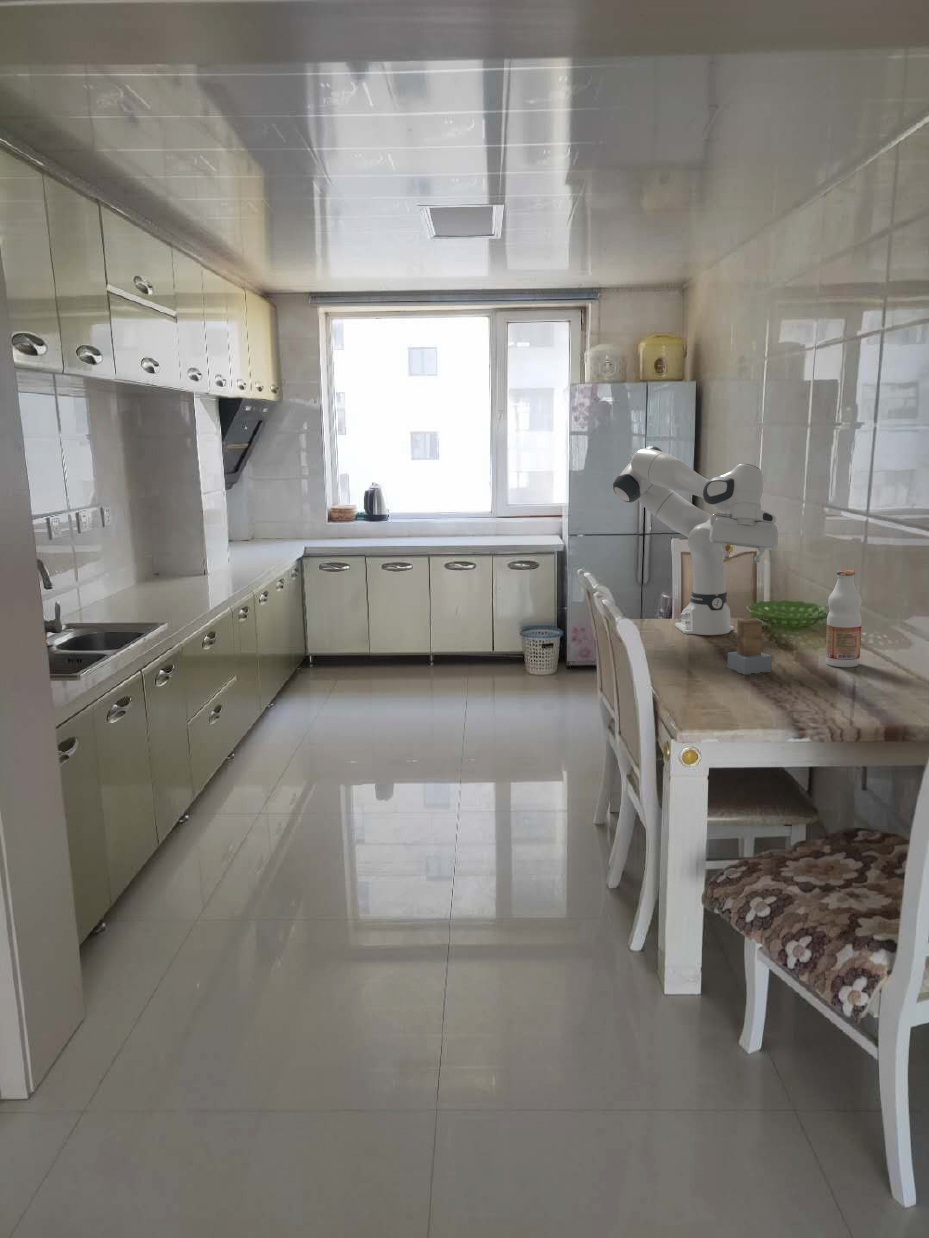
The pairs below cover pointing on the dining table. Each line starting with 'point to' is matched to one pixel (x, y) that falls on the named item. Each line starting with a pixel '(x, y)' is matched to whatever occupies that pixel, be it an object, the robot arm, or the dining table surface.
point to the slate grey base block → (749, 663)
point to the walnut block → (749, 637)
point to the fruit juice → (844, 622)
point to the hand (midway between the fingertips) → (741, 560)
